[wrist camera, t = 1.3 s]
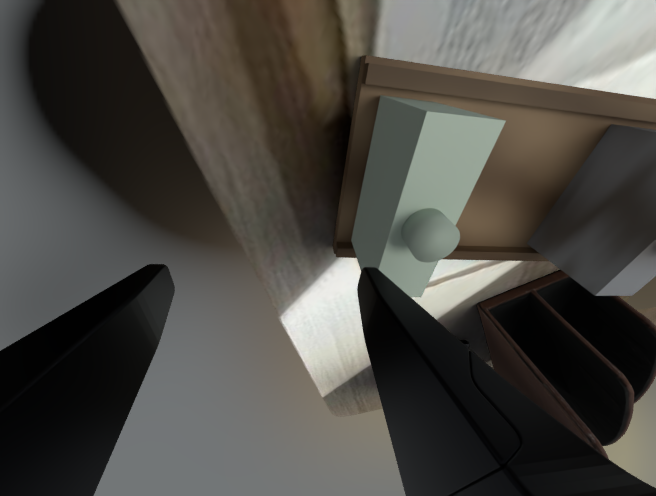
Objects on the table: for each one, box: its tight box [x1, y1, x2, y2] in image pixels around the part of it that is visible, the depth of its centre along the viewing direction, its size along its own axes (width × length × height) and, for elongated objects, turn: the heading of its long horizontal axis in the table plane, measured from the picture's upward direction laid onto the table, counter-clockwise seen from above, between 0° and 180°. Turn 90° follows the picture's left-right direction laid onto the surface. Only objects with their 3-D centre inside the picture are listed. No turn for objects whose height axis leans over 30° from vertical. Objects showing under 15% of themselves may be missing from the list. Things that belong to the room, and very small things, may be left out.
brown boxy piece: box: [333, 55, 656, 296], centre depth 14 cm, size 12×20×8 cm, turn 83°
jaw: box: [351, 95, 506, 297], centre depth 13 cm, size 9×3×7 cm, turn 173°
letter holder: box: [477, 270, 656, 459], centre depth 25 cm, size 10×20×14 cm, turn 29°
